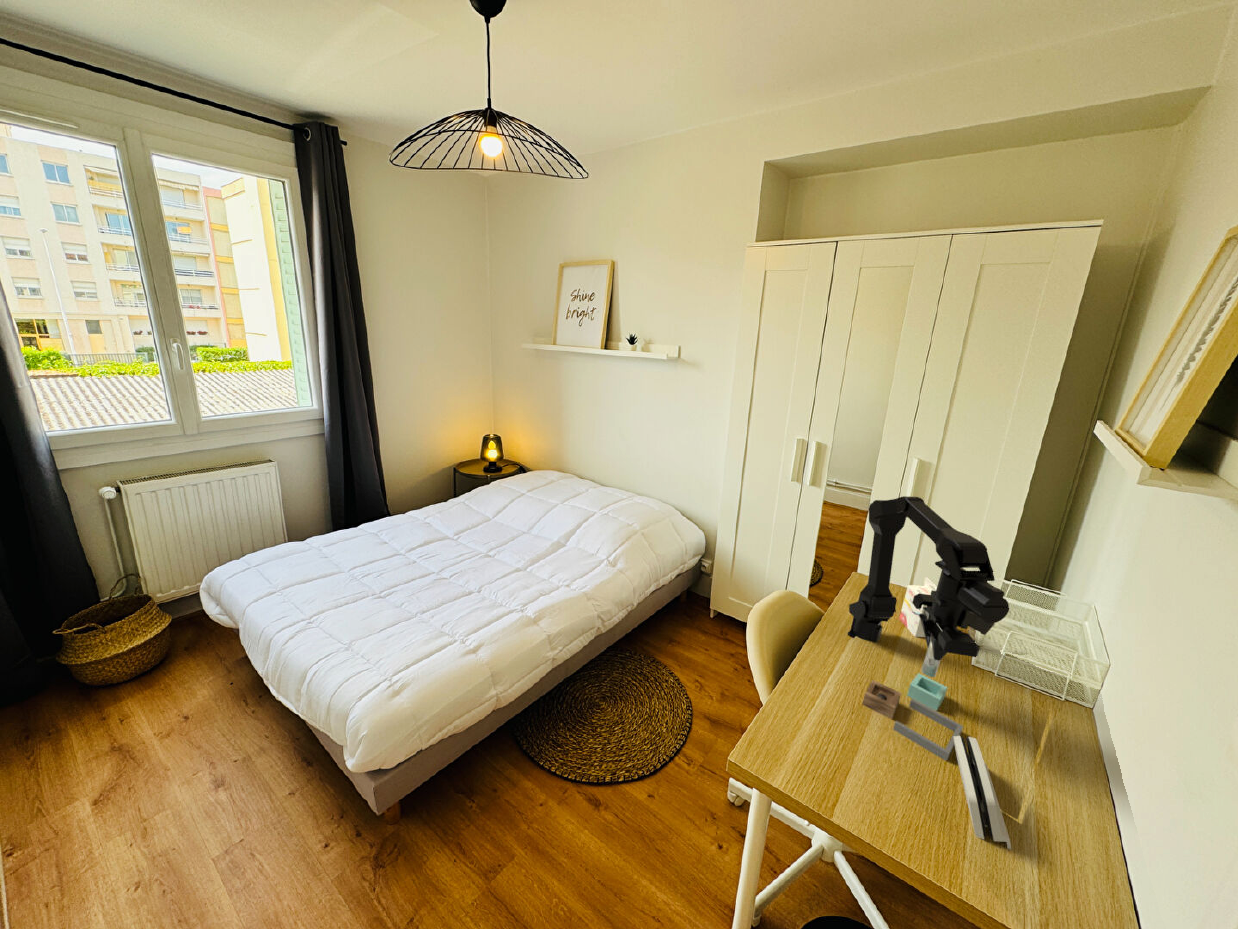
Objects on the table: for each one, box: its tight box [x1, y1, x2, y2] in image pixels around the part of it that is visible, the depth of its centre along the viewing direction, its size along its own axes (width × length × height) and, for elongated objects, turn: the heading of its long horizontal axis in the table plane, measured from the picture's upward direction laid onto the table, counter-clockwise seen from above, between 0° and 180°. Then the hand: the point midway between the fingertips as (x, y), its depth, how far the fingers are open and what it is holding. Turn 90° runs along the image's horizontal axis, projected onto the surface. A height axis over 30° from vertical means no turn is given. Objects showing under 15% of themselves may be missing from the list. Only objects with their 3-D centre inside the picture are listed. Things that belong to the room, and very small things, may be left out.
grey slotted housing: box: [953, 735, 1013, 850], centre depth 86 cm, size 17×5×10 cm, turn 155°
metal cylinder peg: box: [920, 636, 942, 678], centre depth 107 cm, size 3×3×9 cm
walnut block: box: [862, 679, 902, 720], centre depth 107 cm, size 6×6×4 cm
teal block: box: [906, 672, 948, 712], centre depth 110 cm, size 6×6×4 cm
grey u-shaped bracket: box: [892, 698, 964, 762], centre depth 101 cm, size 10×11×2 cm
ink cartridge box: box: [898, 576, 937, 638], centre depth 135 cm, size 9×5×15 cm, turn 179°
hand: (933, 655), depth 107 cm, fingers closed on metal cylinder peg, 3 cm apart
